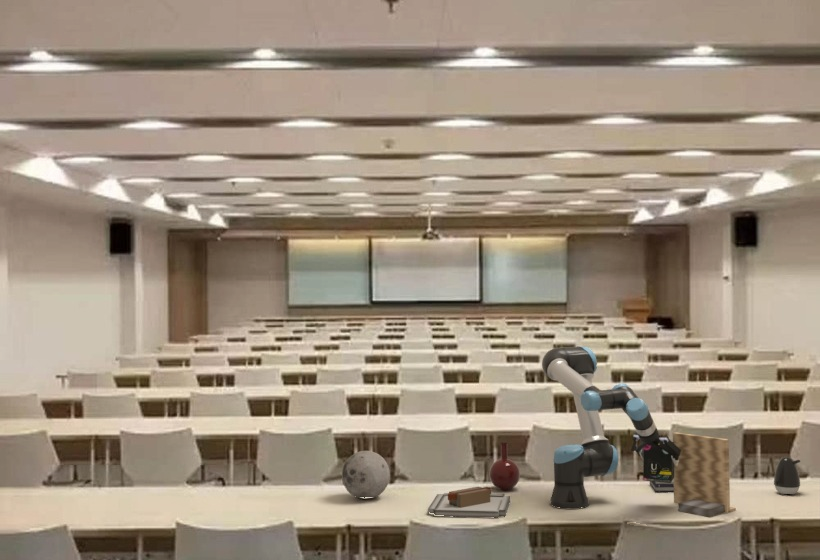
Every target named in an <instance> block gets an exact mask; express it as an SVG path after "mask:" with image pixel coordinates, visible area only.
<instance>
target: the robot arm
mask: <svg viewBox="0 0 820 560" xmlns="http://www.w3.org/2000/svg"><path fill="white" fill-rule="evenodd" d="M597 365H598V362H597V357H596V354H595V353H594V351H593V350H592V349H591V348H589V347H587V346H579V345H578V346H569V347H555V348H552V349H550V350H548V351H547V352H546V353H544V356H543V358H542V361H541V366H542V370H543V373H544V374H545V375H546V376H547V377H548V378H549V379H551V381H552V380H553V381H557V382H558V383H559V384H561V385H562V386H563V387H565V388H566V389H567V390H569V391H570V392H571V393H572V394H573V400H574V401H573V402H574V404H575V409H576V413H577V418H578V424H579V427H580V433H581V437H582V442H581V443H580V444H566V445H565V444H564V445H560V446H559V447H557V448H555V450H554V452H553V471H554V473H553V476H554V477H553V479H554V485H553V489H552V493H551V496H550V506H551V505H553V506H555V507H554V508H557V507H560V508H559V509H563V508H579V509H582V508H581V507H584V508H586V507H585V506H587V507H589V502H590V501H589V497H588V495H587V492H586V489H585V483H584V481H585V479H584V478H590V477H599V476H602V477H603V476H607V475H611V474H613V473H615V471H616V470H617V467H618V464H619V453H618V449H617V448H616V447H615V446H614V445H612V444H610V441H609V439H608V438H606V436H604V430H603V427H602V421H601V417H600V413H599V411H606V410H619V409H621V410H622V411H623V412H624V413H625V414H626V416H628V418H629V419H630V421H631V422H632V425H633V427H634V429H635V431H636V432H634V433H633V437H632V441H633V442H632V446H631V448H630V450H631V451H632V452H636V453H637V455H638V457H640V459H641V461H643V460H644V447H645V446H646V445H649V446H656V447H658V448H661V449H663V450H664V451H666V452H667V453H669V454H670V455H671V458H672V460H673V462H674V464H675V466H676V467H677V466H678V462H679V460H678V458H679V456H680V453H681V450H680V449H679V448H678V447H677V446H676V445H675V444H674V443H673V440H671V439H670V438H669V436H668V435H665V436H664V437H661V435H660V433H659V429H658V428H657V426H656V423H655V421H654V419H653V417H652V415H651V413H650V410H649V407H648V405H647V404H646V402H645V401H644V399H642V398H639V396H638V395H637V394H636V393H635V392H634V390H633V389H632V388H631V387H630V386H629V385H628V384H627V383H624V382H620V383H617V384H615V385H614V386H613V387H612V389H600V388H599V387H597V386H596V385H594V384H593V382H592V381H593V378H594V377H595V375H594V373H596V371H597V369H598V368H597V367H598V366H597ZM639 440H640V441H641V442H640V443H639V444H638V445H637V443H638V441H639ZM659 443H660V444H659ZM658 444H659V445H658ZM553 506H552V507H553Z"/></svg>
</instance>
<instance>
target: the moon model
mask: <svg viewBox="0 0 820 560" xmlns="http://www.w3.org/2000/svg"><path fill="white" fill-rule="evenodd" d="M390 474H391V473H390V468H389V465H388V463H387V461H386V460H385V458H383V457H382V455H380V454H379V453H377V452H374V451H372V450H361V451H358V452H355V453H354V454H352V455H350V456H349V457H348V458H347V460H346V461H345V463H344V465H343V467H342V471H341V481H342V484H343V485H344V488H345V490H346V491H347V492H348V493H349V494H350V495H352V496H353V497H355V496H356V497H355V498H357V497H364V498H365V497H375V498H376V496H377V497H378V496H380V495H381V494H383V492H384V491H385V490H386V489H387V487H388V485H389V482H390V478H391V476H390Z"/></svg>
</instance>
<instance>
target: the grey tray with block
mask: <svg viewBox="0 0 820 560" xmlns="http://www.w3.org/2000/svg"><path fill="white" fill-rule="evenodd" d="M509 503H510V504H511V495H505V494H504V493H492V487H489V486H484V487H482V486H475V487H469V488H463V489H458V490H451V491H449V492H444V493H442V494H441V493H440V494H439V493H438V494H436V496H435V497H434V499H433V501H432V502H431V503H430V505H429V507H428V508H427V513H428V512H430V513H434V514H435V515H444V516H453V517H452V518H466V517H494V518H493V519H499V518H498V517H499V516H504V517H503V518H506V517H507V514H506V513H508V510H509V507H510V504H509ZM505 516H506V517H505Z"/></svg>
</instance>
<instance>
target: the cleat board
mask: <svg viewBox="0 0 820 560" xmlns="http://www.w3.org/2000/svg"><path fill="white" fill-rule="evenodd" d="M672 442H674V444H675V445H676V446H677V447H678V448H679V449H680V450H681V453H680V456H679V458H678V460H679V462H678V466H677V467H676V466H675V464H674V493H673V504H677V510H678V512H681V513H682V512H683V513H686V514H687V513H688V514H693V515H698V516H703V517H707V518H711V517H715V516H718V514H719V515H722V514H728V512H729V513H732V512H735V510H737V509H736V507H733V506H731V496H730V493H731V492H730V488H731V487H730V444H729V443H730V439H729V438H723V437H722V438H720V437H712V436H707V435H706V436H705V435H698V434H689V433H684V432H683V433H682V432H677V431H675V432H672ZM731 511H732V512H731ZM724 512H725V513H724Z"/></svg>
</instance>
